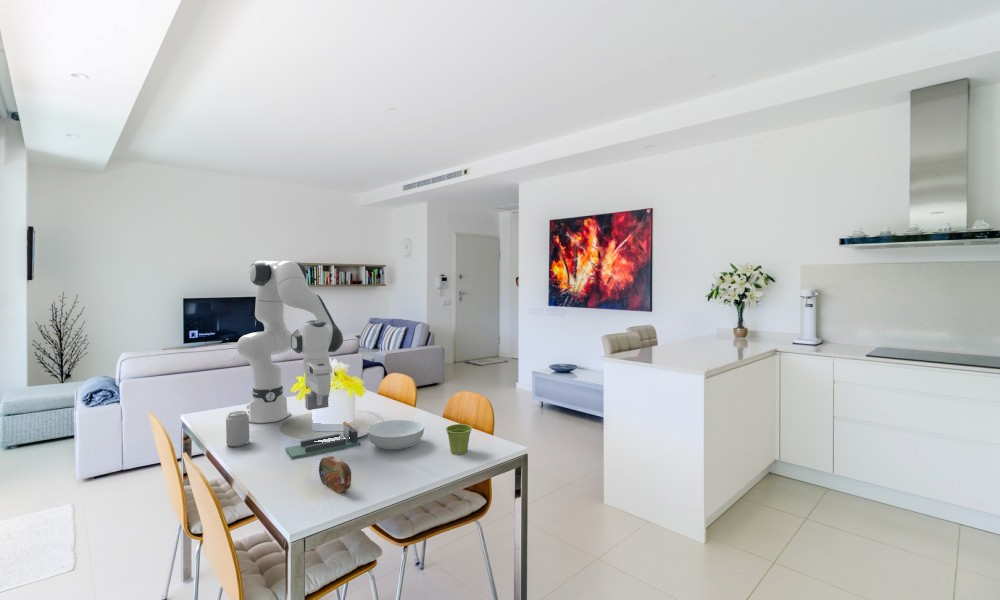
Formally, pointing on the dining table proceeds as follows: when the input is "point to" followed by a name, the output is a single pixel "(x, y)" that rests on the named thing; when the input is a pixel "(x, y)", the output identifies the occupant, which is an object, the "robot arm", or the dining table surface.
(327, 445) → the header board
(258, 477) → the dining table surface
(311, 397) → the plug
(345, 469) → the tin
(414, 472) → the dining table surface
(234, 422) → the can
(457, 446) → the plant pot
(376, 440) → the serving bowl
